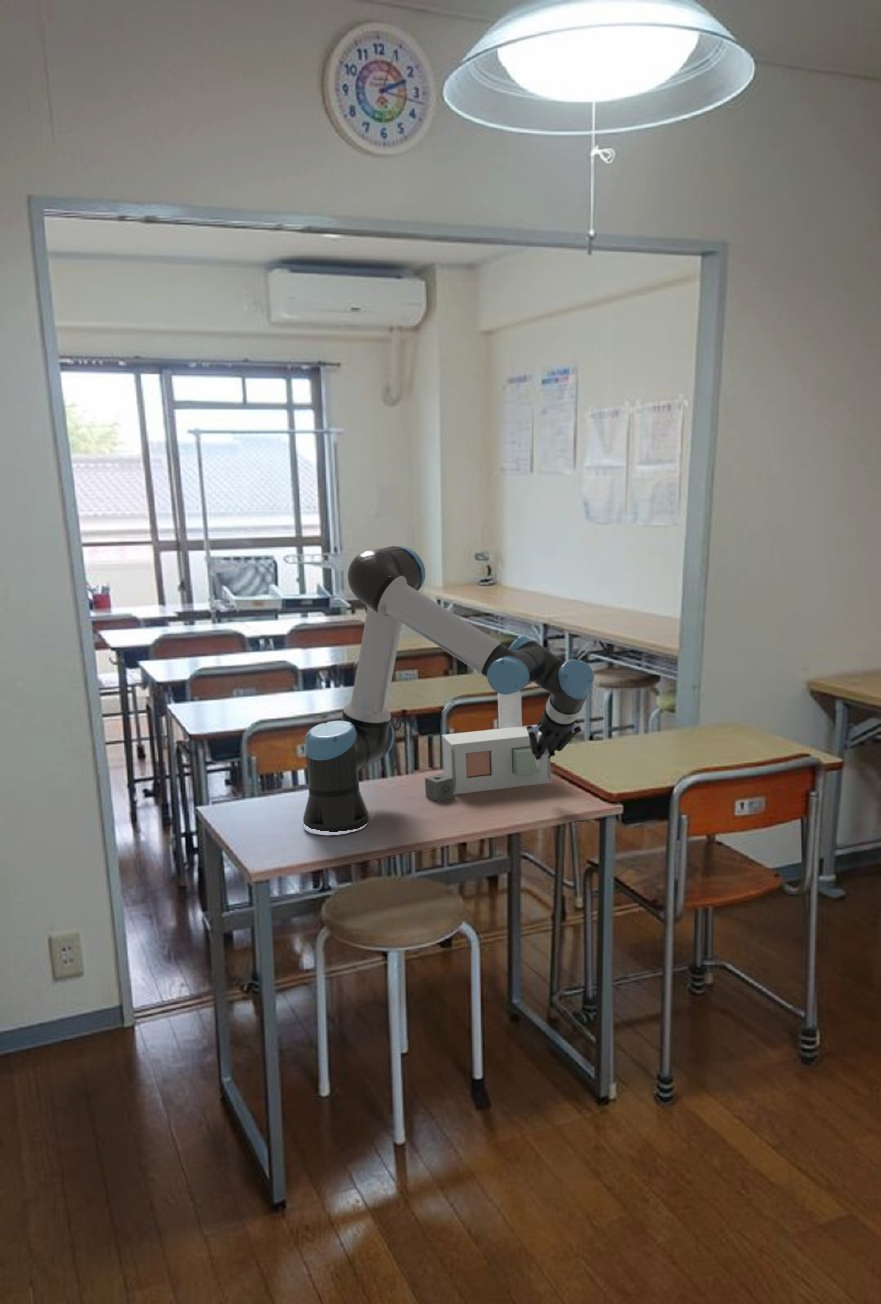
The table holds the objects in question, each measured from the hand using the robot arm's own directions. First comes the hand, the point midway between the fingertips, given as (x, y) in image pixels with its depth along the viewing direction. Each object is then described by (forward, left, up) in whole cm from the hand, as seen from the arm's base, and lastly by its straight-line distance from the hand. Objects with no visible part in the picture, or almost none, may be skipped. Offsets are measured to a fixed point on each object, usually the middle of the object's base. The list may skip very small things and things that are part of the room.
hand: (539, 763), depth 222 cm
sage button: (0, +11, -5) cm, 13 cm away
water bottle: (+3, +29, -9) cm, 31 cm away
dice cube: (-23, +11, -9) cm, 27 cm away
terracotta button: (-12, +15, -5) cm, 20 cm away
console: (-6, +16, -9) cm, 19 cm away
